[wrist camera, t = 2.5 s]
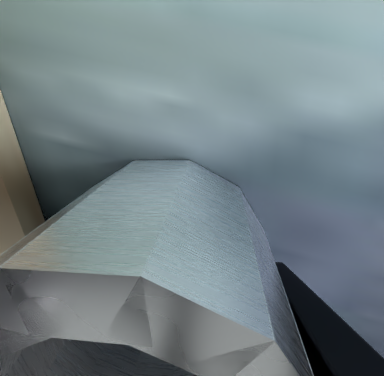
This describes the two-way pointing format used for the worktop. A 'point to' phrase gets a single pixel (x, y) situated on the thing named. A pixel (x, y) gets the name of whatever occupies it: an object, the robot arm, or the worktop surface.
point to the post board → (15, 188)
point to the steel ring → (148, 284)
